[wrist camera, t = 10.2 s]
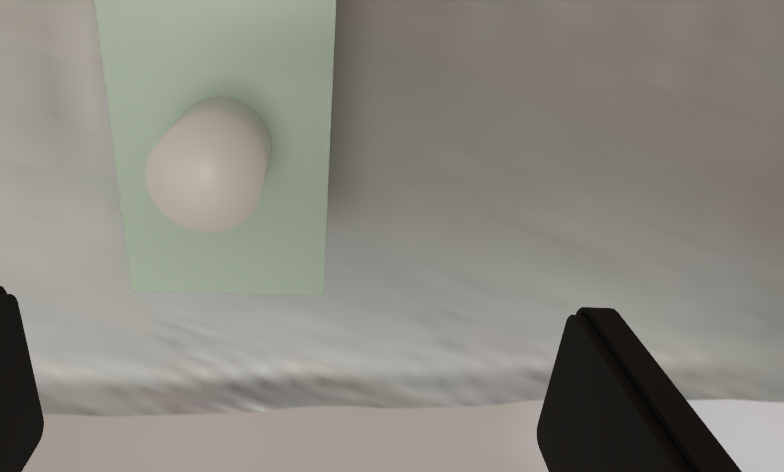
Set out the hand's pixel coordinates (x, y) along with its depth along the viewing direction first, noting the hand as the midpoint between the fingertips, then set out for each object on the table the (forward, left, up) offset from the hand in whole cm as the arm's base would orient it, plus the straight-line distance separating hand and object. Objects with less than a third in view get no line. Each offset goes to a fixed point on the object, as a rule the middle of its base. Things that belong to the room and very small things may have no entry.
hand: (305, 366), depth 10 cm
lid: (+4, +1, -17) cm, 18 cm away
